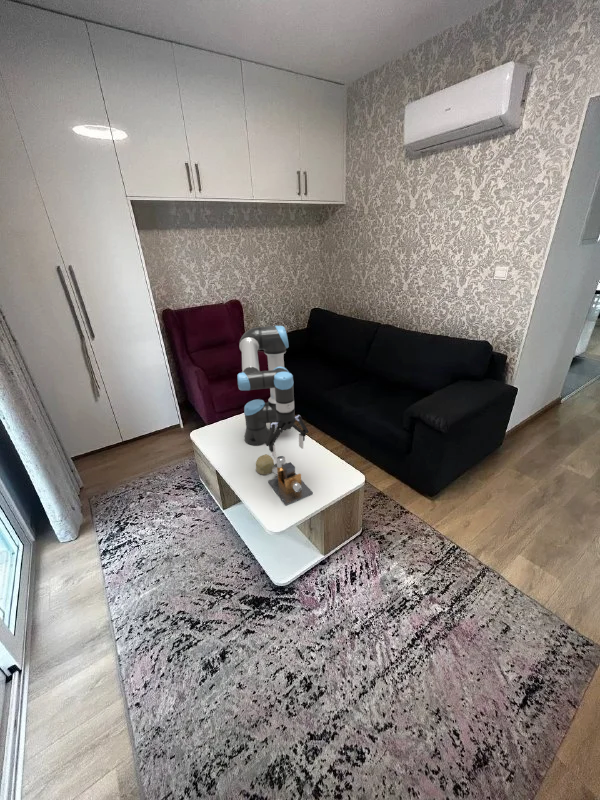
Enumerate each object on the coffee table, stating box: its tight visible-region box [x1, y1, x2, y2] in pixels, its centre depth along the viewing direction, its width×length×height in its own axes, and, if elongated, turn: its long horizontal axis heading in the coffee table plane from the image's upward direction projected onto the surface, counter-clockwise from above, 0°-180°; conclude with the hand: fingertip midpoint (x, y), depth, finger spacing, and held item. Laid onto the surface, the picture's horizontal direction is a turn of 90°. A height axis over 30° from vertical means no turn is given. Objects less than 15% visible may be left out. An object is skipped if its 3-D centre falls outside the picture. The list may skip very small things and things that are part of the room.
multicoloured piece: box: [267, 455, 314, 507], centre depth 152 cm, size 22×14×12 cm, turn 29°
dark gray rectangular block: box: [283, 461, 296, 485], centre depth 150 cm, size 4×4×12 cm
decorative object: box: [255, 454, 275, 476], centre depth 165 cm, size 9×10×10 cm
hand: (287, 452), depth 145 cm, fingers open, 13 cm apart
